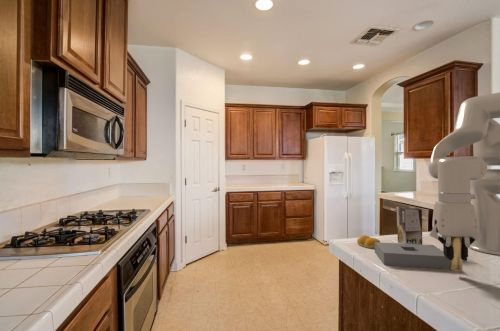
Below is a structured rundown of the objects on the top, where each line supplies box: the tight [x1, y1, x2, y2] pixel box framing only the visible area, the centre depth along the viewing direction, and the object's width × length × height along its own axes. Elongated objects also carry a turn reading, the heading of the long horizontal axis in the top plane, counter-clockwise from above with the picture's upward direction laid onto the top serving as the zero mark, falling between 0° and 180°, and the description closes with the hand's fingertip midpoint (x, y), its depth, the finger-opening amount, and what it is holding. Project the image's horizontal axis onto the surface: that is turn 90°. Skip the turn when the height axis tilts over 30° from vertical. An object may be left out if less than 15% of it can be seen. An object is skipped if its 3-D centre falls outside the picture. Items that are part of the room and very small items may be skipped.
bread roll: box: [356, 234, 381, 249], centre depth 105 cm, size 8×9×4 cm
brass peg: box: [449, 237, 463, 272], centre depth 75 cm, size 3×3×10 cm
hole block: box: [374, 241, 451, 270], centre depth 88 cm, size 20×12×4 cm, turn 77°
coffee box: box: [396, 205, 423, 245], centre depth 104 cm, size 9×6×16 cm
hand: (455, 258), depth 75 cm, fingers closed on brass peg, 3 cm apart
